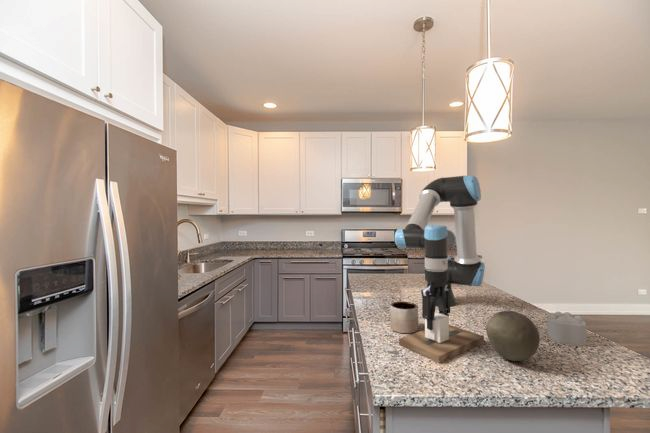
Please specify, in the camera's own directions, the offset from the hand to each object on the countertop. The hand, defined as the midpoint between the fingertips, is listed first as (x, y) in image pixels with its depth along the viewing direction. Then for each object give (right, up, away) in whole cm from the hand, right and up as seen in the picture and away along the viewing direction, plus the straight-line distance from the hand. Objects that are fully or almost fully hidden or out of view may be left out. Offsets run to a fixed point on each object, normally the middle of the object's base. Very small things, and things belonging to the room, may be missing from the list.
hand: (436, 336), depth 104 cm
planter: (-7, -4, +16) cm, 18 cm away
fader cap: (0, -1, 0) cm, 1 cm away
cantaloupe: (+19, -3, -11) cm, 23 cm away
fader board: (+2, -3, +2) cm, 4 cm away
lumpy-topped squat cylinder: (+49, -3, +6) cm, 50 cm away
